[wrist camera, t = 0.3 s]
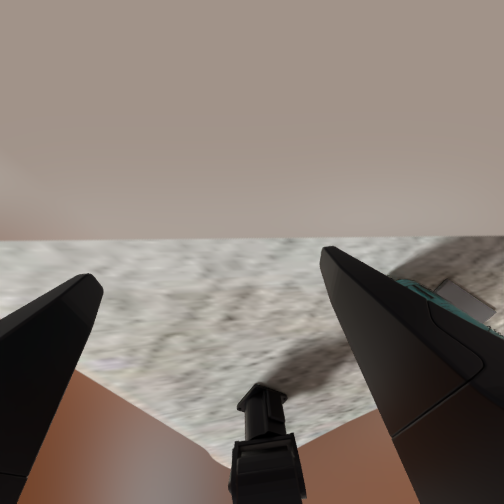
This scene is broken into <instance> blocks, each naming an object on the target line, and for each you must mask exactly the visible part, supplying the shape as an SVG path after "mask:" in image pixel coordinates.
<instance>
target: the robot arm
mask: <svg viewBox="0 0 504 504" xmlns="http://www.w3.org/2000/svg"><path fill="white" fill-rule="evenodd" d="M320 270H321V273H322V276H323V279H324V283H325V286H326V289H327V292H328V295H329V299H330V302H331V304H332V307H333V309H334V311H335V313H336V316H337V318H338V320H339V322H340V325H341V327H342V329H343V331H344V334H345V336H346V338H347V340H348V343H349V345H350V347H351V349H352V351H353V354H354V356H355V358H356V360H357V363H358V365H359V367H360V369H361V372H362V374H363V376H364V378H365V381H366V383H367V385H368V387H369V390H370V392H371V394H372V396H373V398H374V401H375V403H376V405H377V407H378V410H379V412H380V414H381V416H382V418H383V421H384V423H385V425H386V428H387V430H388V432H389V434H390V436H391V437H392V441H393V444H394V446H395V448H396V450H397V452H398V455H399V457H400V459H401V461H402V464H403V466H404V468H405V471H406V473H407V475H408V477H409V479H410V482H411V484H412V486H413V488H414V491H415V493H416V495H417V497H418V500H419V502H420V504H504V339H502V338H500V337H498V336H496V335H494V334H492V333H490V332H488V331H486V330H484V329H482V328H480V327H478V326H476V325H475V324H473V323H471V322H469V321H467V320H465V319H463V318H461V317H459V316H457V315H456V314H454V313H452V312H450V311H448V310H446V309H445V308H443V307H441V306H439V305H437V304H436V303H434V302H432V301H430V300H427V299H426V298H425V297H423V296H421V295H420V294H418V293H416V292H414V291H413V290H411V289H409V288H407V287H405V286H404V285H402V284H400V283H398V282H397V281H395V280H393V279H391V278H390V277H388V276H386V275H384V274H382V273H381V272H379V271H377V270H375V269H374V268H372V267H370V266H368V265H367V264H365V263H363V262H361V261H359V260H358V259H356V258H354V257H352V256H351V255H349V254H347V253H345V252H343V251H342V250H340V249H338V248H336V247H334V246H328V247H323V248H322V251H321V258H320ZM103 292H104V291H103V287H102V286H101V285H100V283H99V282H98V281H97V280H96V278H95V277H94V276H93V275H92V274H89V273H87V274H79V275H77V276H75V277H73V278H71V279H70V280H68V281H66V282H64V283H63V284H61V285H59V286H58V287H56V288H54V289H52V290H51V291H49V292H47V293H46V294H44V295H42V296H40V297H39V298H37V299H35V300H33V301H32V302H30V303H28V304H27V305H25V306H23V307H21V308H20V309H18V310H16V311H15V312H13V313H11V314H9V315H8V316H6V317H4V318H2V319H1V320H0V504H17V502H18V499H19V497H20V495H21V493H22V490H23V488H24V486H25V483H26V481H27V479H28V478H27V476H28V475H29V473H30V471H31V469H32V466H33V464H34V462H35V460H36V457H37V455H38V453H39V450H40V448H41V446H42V443H43V441H44V439H45V436H46V434H47V432H48V430H49V427H50V425H51V423H52V420H53V418H54V416H55V414H56V411H57V409H58V407H59V404H60V402H61V400H62V397H63V395H64V393H65V390H66V388H67V386H68V384H69V381H70V379H71V376H72V374H73V372H74V370H75V367H76V365H77V363H78V361H79V358H80V356H81V354H82V351H83V349H84V347H85V344H86V342H87V340H88V337H89V335H90V333H91V330H92V327H93V325H94V322H95V318H96V315H97V312H98V309H99V306H100V303H101V300H102V296H103ZM286 400H287V395H285V394H282V393H280V392H277V391H274V390H271V389H268V388H266V387H263V386H260V385H254V386H253V387H252V389H251V390H250V391H249V392H248V393H247V395H246V396H245V397H244V398H243V399H242V400H241V402H240V403H239V404H238V405H237V410H238V411H242V412H245V441H235V445H234V448H233V449H232V467H231V473H230V478H229V484H228V490H229V492H230V493H231V495H232V500H233V504H302V500H301V499H306V498H307V496H306V489H305V483H304V478H303V473H302V469H301V463H300V459H299V454H298V450H297V445H296V441H295V437H294V432H293V433H290V434H286V428H285V416H284V411H283V405H282V404H283V403H284V402H285V401H286Z"/></svg>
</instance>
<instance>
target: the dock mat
mask: <svg viewBox="0 0 504 504" xmlns="http://www.w3.org/2000/svg"><path fill="white" fill-rule="evenodd" d="M434 293H437V295H440V296H441V297H443V298H444V300H445V299H446V301H447V300H448V301H447V302H449V301H450V302H449V303H450V304H452V303H453V304H452V305H454V306H455V307H457V308H458V309H460V310H461V309H462V310H463V311H464V312H465V313H466V312H467V314H468V315H469V316H471V317H473V318H474V319H476V320H477V321H479V322H480V323H482V324H483V323H484V322H485V321H487V320H488V319H489V318H490V317H491V316H493V315H494V314H495V313H496V311H494V310H493V309H491V308H490V307H488V306H487V305H485V304H484V303H482V302H481V301H480V300H478V299H477V298H475V297H474V296H472V295H471V294H469V293H468V292H466V291H465V290H463V289H462V288H460V287H459V286H457V285H456V284H455V283H453V282H452V281H450V280H448V279H446V280H445V281H444V282H443V283H442V284H441V285H440V286H439V287H438V288H437V289H436V290H435V291H434ZM451 302H452V303H451ZM462 310H461V311H462Z"/></svg>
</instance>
